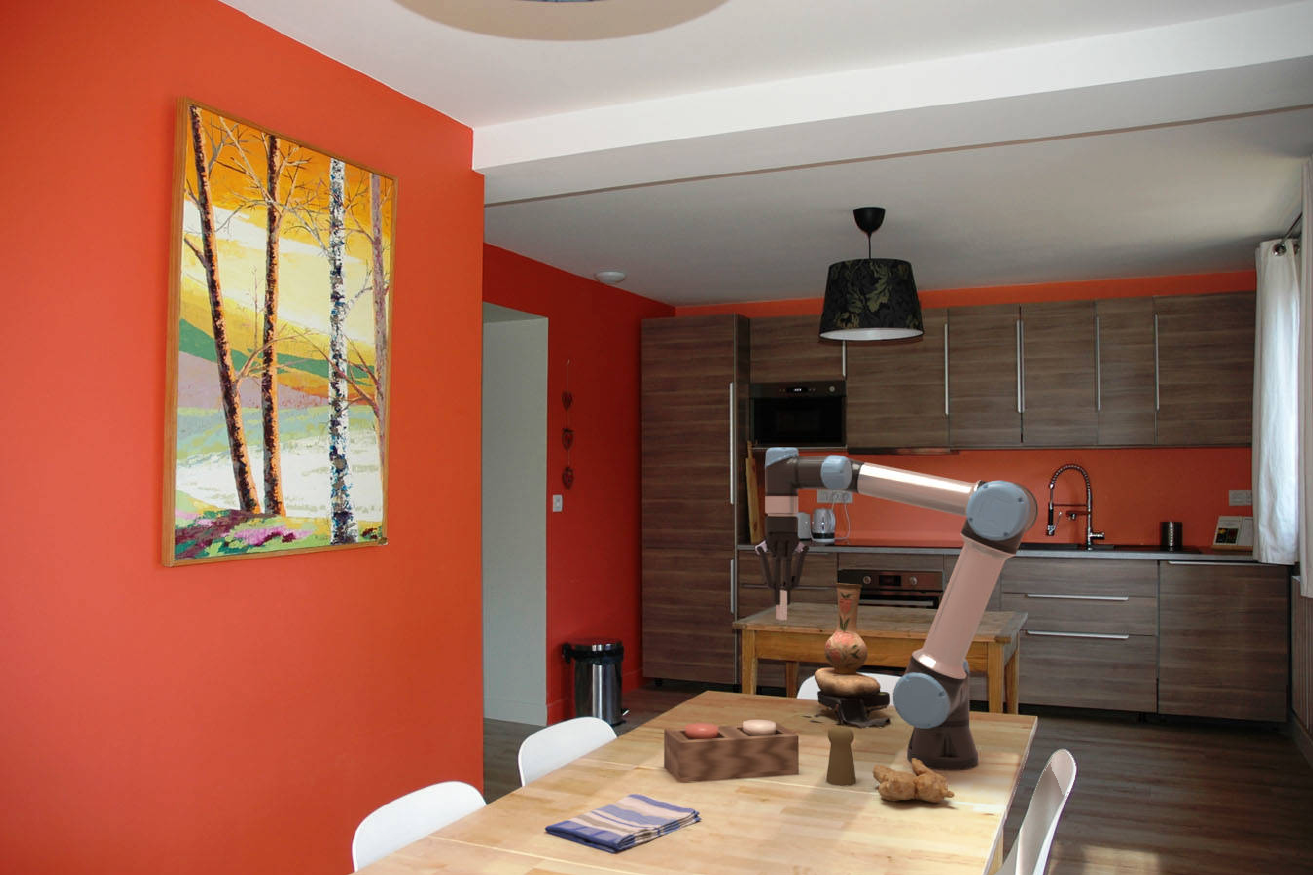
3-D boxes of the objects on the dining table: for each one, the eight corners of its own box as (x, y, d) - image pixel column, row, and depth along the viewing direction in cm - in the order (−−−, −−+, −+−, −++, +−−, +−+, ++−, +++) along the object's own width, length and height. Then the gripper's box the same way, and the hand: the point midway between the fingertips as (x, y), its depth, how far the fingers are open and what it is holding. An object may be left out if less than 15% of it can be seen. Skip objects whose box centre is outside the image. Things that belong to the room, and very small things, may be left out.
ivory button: (768, 751, 223) (768, 718, 224) (780, 759, 217) (780, 725, 217) (738, 753, 222) (738, 720, 222) (749, 761, 215) (749, 727, 215)
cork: (855, 786, 206) (855, 731, 207) (825, 784, 207) (825, 729, 208) (856, 778, 212) (855, 724, 213) (826, 776, 213) (826, 723, 214)
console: (776, 759, 226) (776, 723, 227) (798, 774, 215) (798, 735, 215) (664, 767, 220) (664, 729, 220) (680, 782, 208) (680, 742, 208)
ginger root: (954, 809, 188) (943, 765, 189) (869, 820, 193) (859, 777, 194) (960, 789, 202) (950, 748, 204) (881, 800, 207) (872, 760, 209)
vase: (905, 714, 274) (905, 583, 276) (878, 730, 255) (877, 589, 257) (823, 704, 286) (823, 578, 288) (791, 719, 267) (791, 584, 269)
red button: (712, 754, 220) (712, 721, 220) (722, 763, 213) (722, 729, 214) (680, 756, 218) (681, 723, 218) (690, 765, 211) (690, 731, 212)
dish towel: (704, 823, 184) (704, 807, 184) (616, 858, 166) (616, 841, 166) (631, 804, 195) (631, 789, 196) (542, 835, 177) (542, 818, 177)
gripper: (801, 514, 239) (801, 616, 237) (749, 514, 235) (748, 618, 234) (814, 515, 231) (814, 620, 230) (760, 515, 228) (760, 622, 227)
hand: (781, 619), depth 232 cm, fingers closed
